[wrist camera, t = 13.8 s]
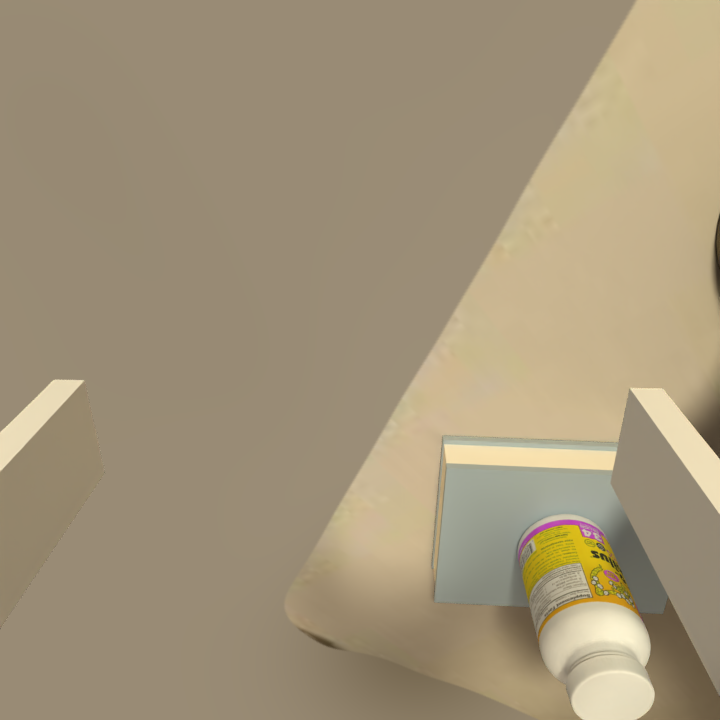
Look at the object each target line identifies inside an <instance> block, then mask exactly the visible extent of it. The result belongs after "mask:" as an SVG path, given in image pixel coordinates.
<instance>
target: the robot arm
mask: <svg viewBox="0 0 720 720" xmlns="http://www.w3.org/2000/svg"><path fill="white" fill-rule="evenodd" d="M717 257H718V263H719V267H720V220H719V225H718V231H717ZM104 473H105V470H104V465H103V461H102V457H101V452H100V447H99V443H98V438H97V434H96V430H95V425H94V420H93V415H92V411H91V407H90V402H89V398H88V393H87V388H86V384H85V380H53V381H52V382H51V383H50V384H49V385H48V386H47V387H46V388H45V389H44V390H43V391H42V392H41V393H40V394H39V395H38V396H37V397H36V398H35V399H34V400H33V401H32V402H31V403H30V404H29V405H28V406H27V407H26V408H25V409H24V410H23V411H22V412H21V413H20V414H19V415H18V416H17V417H16V418H15V419H14V420H13V421H12V422H11V423H10V424H9V425H8V426H7V427H5V428H4V430H2V431H1V432H0V628H1V627H2V625H3V624H4V622H5V621H6V619H7V618H8V616H9V615H10V613H11V612H12V611H13V609H14V608H15V606H16V604H17V603H18V602H19V600H20V599H21V597H22V596H23V594H24V593H25V591H26V590H27V588H28V587H29V585H30V584H31V582H32V581H33V579H34V578H35V576H36V575H37V573H38V572H39V570H40V569H41V567H42V566H43V564H44V563H45V561H46V560H47V558H48V557H49V555H50V554H51V552H52V551H53V549H54V548H55V547H56V545H57V544H58V542H59V541H60V539H61V538H62V536H63V535H64V533H65V532H66V530H67V529H68V527H69V525H70V524H71V523H72V521H73V520H74V518H75V517H76V515H77V514H78V512H79V511H80V509H81V508H82V506H83V505H84V503H85V502H86V501H87V499H88V497H89V496H90V494H91V493H92V492H93V490H94V489H95V487H96V486H97V484H98V483H99V481H100V480H101V478H102V476H103V475H104ZM610 483H611V485H612V487H613V489H614V491H615V493H616V495H617V497H618V499H619V501H620V503H621V505H622V507H623V509H624V511H625V513H626V515H627V517H628V519H629V521H630V523H631V525H632V526H633V528H634V530H635V532H636V534H637V536H638V538H639V540H640V542H641V544H642V546H643V548H644V550H645V552H646V554H647V556H648V558H649V560H650V562H651V564H652V566H653V568H654V569H655V571H656V573H657V575H658V577H659V579H660V581H661V583H662V585H663V587H664V589H665V591H666V593H667V595H668V597H669V599H670V601H671V603H672V605H673V607H674V609H675V611H676V613H677V614H678V616H679V618H680V620H681V622H682V624H683V626H684V628H685V630H686V632H687V634H688V636H689V638H690V640H691V642H692V644H693V646H694V648H695V650H696V652H697V654H698V656H699V657H700V659H701V661H702V663H703V665H704V667H705V669H706V671H707V673H708V675H709V677H710V679H711V681H712V683H713V685H714V687H715V689H716V691H717V693H718V695H719V697H720V459H719V458H718V456H717V455H716V454H715V453H714V451H713V450H712V449H711V448H710V446H709V445H708V444H707V443H706V442H705V440H704V439H703V438H702V437H701V435H700V434H699V433H698V432H697V430H696V429H695V428H694V427H693V425H692V424H691V423H690V422H689V421H688V419H687V418H686V417H685V416H684V414H683V413H682V412H681V411H680V409H679V408H678V407H677V406H676V404H675V403H674V402H673V401H672V400H671V398H670V397H669V396H668V395H667V393H666V392H665V391H664V390H663V388H630V389H629V393H628V398H627V403H626V408H625V413H624V418H623V423H622V428H621V433H620V438H619V442H618V447H617V452H616V457H615V462H614V467H613V472H612V477H611V482H610Z"/></svg>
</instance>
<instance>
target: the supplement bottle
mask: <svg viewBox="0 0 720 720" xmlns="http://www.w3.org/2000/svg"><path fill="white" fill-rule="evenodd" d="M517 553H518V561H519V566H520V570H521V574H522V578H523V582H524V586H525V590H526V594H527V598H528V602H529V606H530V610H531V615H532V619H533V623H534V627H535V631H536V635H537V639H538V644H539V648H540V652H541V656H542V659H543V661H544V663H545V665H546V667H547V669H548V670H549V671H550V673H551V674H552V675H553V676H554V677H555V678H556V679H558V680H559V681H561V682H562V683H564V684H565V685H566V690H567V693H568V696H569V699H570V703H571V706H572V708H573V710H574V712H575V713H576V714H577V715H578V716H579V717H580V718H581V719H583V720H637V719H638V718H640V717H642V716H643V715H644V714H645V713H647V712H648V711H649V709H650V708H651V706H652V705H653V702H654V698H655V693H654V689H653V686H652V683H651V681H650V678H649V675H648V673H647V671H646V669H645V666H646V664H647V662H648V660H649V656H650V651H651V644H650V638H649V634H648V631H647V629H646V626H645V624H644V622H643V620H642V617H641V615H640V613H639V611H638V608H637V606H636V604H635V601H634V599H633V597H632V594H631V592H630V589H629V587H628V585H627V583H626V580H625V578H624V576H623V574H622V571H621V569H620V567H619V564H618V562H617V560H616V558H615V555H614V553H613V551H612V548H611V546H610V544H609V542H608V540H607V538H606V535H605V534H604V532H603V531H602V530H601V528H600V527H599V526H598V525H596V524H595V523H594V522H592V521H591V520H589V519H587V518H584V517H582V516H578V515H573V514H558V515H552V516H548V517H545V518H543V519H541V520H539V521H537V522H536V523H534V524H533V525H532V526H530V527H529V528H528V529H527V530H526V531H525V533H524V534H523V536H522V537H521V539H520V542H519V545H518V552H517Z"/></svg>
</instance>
